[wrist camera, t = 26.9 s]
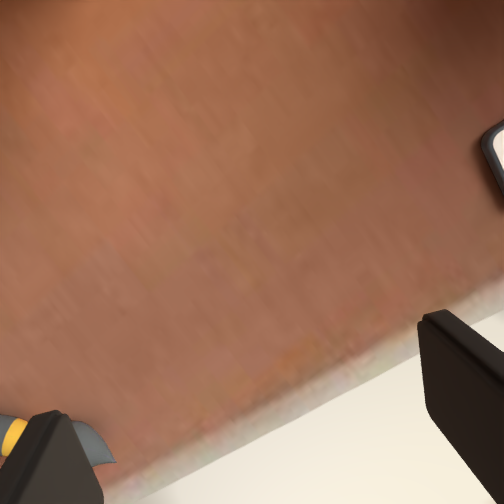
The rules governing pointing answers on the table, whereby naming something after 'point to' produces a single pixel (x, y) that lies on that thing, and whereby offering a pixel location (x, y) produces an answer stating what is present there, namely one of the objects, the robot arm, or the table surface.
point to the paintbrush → (10, 428)
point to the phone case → (495, 152)
